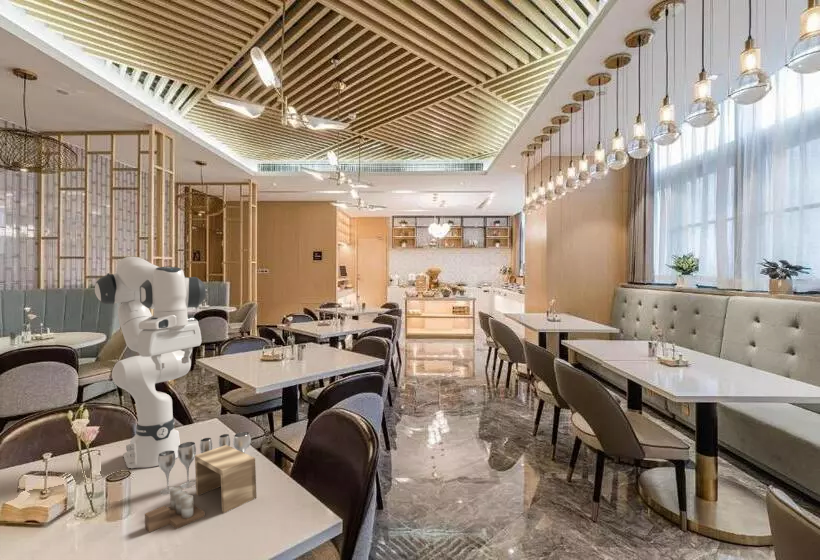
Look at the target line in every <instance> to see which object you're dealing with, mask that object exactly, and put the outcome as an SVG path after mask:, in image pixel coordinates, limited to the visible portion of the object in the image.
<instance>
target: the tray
mask: <svg viewBox="0 0 820 560" xmlns="http://www.w3.org/2000/svg"><path fill="white" fill-rule="evenodd" d="M169 496H170V497H169V498H170V499H169V503H170V504H169V505H170V506H168V507H167V506H166V505H162V506H161V507H160V506H159V507H158V508H155V509H153V510H150V511H148V512H145V513H144V528H145V529H144V530H146V531H147V532H148V533H151V532H154V531H157V530H159V529H161V528H163V527H166V526H169V525H171V526H172V527H173V528H175V530H177V529H180V528H182V527H184V526H186V525H188V524H190V523H194V521H198V520H199V519H202V518H204V517H205V516H206V515H205V513H206V512H205V511H204V510H202V509H201V508H199V507H198V506H197V505H195V504H194V495H193V494H188V491H187V490H183V489H182V488H181V487H180V486H179V487H175V488H173V489H171V490H170V494H169Z"/></svg>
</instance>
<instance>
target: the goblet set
mask: <svg viewBox="0 0 820 560" xmlns="http://www.w3.org/2000/svg"><path fill="white" fill-rule="evenodd" d="M212 441H213V439H212V438H211V437H203V438H201V439H200V442H199V449H200V450H199V451H200V454H201V453H204V452H207V451H210V450H213V442H212ZM251 443H252V437H251V435H250V433H249V432H248V431H240V432H238V433H235V434H234V436H233V440H232V445H233V448H234V449H236V450H239V451H241V452H243V453H246V451H247V449H249V447H250V445H251ZM224 445H228V446H230V447H231V438H230V435H229V433H224V434H221V435H219V438H218V448H219V447H222V446H224ZM196 453H197V446H196V443H195V442H194V441H186V442H182V443H180V445H179V446H178V457H177V458H178V459H179V461H180V463H181V464H182V465H183V466H184V467H185V469H186V479H187V481H186V482H184V483H183V482H182V484H180V486H179V487H181V488H182V490H184V488H185V490H186V489H190V487H191V488H192V487H195V486H196V485H195V484H196V481H190V479H189V478H190V476H189V475H190V474H189V473H190V466H191V465H192V463H193V461H195V455H197V454H196ZM158 464H159V465H158V467H159V469H160V470H161V471H162V472H163V473H164V475H165V477H166V486H167V487H166V488H164V489H161V491H160V492H159V494H160V495H163V496H164V495H168V494H169V495H170V490H171V489H173V488H176V486H175V487H174V486H172V487H169V485H170V484H169V478H170V473H171V471H172V469H173V468H174V466H175V464H176V459H175V452H174V451H172V450H170V451H164V452H162V453H160V454H159V456H158ZM194 485H195V486H194Z"/></svg>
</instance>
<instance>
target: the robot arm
mask: <svg viewBox="0 0 820 560" xmlns="http://www.w3.org/2000/svg"><path fill="white" fill-rule="evenodd" d="M115 270H116V273H106V275H104V276H102V277H100V278H98V279H97V281H96V282H95V286H94V293H95V294H94V295H96V298H97V299H98V301H99V302H100V303H102V304H103V305H115V304H119V306H118V309H117V315H118V322H119V326H120V329H121V333H122V335H123V338H124V341H125V344H126V345H125V346H127V348H129V350H131V351H133V352H136V353H138V354H139V355H135V356H129V357H127V358H124V359H121V360H118V361H116V363H115V364H114V366H113V368H112V370H111V377H112V381H113V383H114V384H115V385H116V386H117V387H118V388H120V389H122V390H125V391H126V392H127V393H128V394H130V395H131V397H132V399H134V402H135V407H136V414H137V424H136V426H135V435H134V436H133V437H132V438H131V439H130V440H129V444H126V447H125V448H126V449H125V450H126V452H124V453H123V454H122V457H124V458H123V460H124V462H126V463H125V465H126V467H128V468H131V469H139V468H152V467H157V466H158V467H159V464H158V456H159V454H160V453H162V452H164V451H170V450H172V451H174V452H175V460H176V459H177V458H179V457H178V446H179V445H180V444H181V441H180V440H181V439H180V432H179V430H177V429H175V423H176V422H175V421H176V420H175V417H174V415H173V414H174V413H173V399H172V397H171V396H170V395H169V394H167V393H166V392H162V391H158V390H156V384H159V383H163V382H169V381H173V380H176V379H178V378H181V377H184V376H186V375H187V374H188V373H189V371H190V370H191V368H192V367H191V366H192V359H191V358H190V357H191V356H192V353H193V348H195V347H200V346H201V344H202V334H201V333H202V331H201V327H200V326H199V323H200V322H199V321H198V319H196V318H195V317H188V308H198V306H200V305H201V304H202V303H203V302H204V300H205V299H206V296H207V290H206V286H205V284H204V282H203V281H202V280H201V279H199V277H197V276H190V277H187V276H185V273H184V270H183V269H182V268H180V267H176V266H158V265H156V264H154V263H151V262H150V261H148V260H146V259H145V258H142V257H138V256H126V257H124V258H122V259H120V260H119V262H118V263H117V264H116V269H115ZM150 309H152V310H153V314H152V312H151V310H150ZM128 468H127V469H128Z"/></svg>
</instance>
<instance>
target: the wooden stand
mask: <svg viewBox="0 0 820 560" xmlns="http://www.w3.org/2000/svg"><path fill="white" fill-rule="evenodd" d="M194 466H195V469H194V470H195V482H196V485H195V493H196V496H198V497H199V496H201V495H203V493H204V494H205V493H208V492H211V491H214V490H215V489H218V488H220V489H221V490H220V491H221V492H220V494H221V513H223V514H225V513H228V512H229V510H230V511H231V509H232V510H234V509H235V508H238V507H240V506H242V504H243V505H244V503H245V504H246V502H247V503H249V502H251V501H253V500H255V499H257V476H256V475H257V471H256V458H255V457H254V456H251V455H249V454H247V453H246V452H244V453H243V452H241V451H239V450H237V449H235V447H232V446H231V445H230V446H228V445H224V446H222V447H219V446H218V447H216V448H212V450H210V451H207V452H204V453H201V452H200V453H198V454H196V455H195V458H194ZM254 498H255V499H254ZM248 501H249V502H248ZM233 508H234V509H233ZM227 511H228V512H227Z"/></svg>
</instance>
